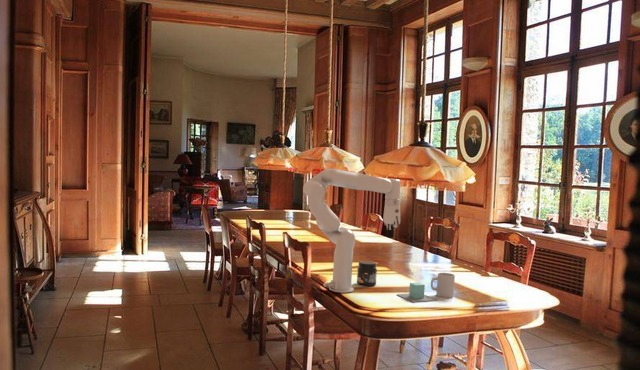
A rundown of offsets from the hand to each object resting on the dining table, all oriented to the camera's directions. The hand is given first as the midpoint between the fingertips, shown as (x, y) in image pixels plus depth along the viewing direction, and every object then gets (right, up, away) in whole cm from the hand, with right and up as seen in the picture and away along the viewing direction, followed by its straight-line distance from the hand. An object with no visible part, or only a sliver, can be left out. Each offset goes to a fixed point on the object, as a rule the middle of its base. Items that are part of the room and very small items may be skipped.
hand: (390, 237), depth 281 cm
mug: (+25, -29, -9) cm, 39 cm away
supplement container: (-12, -27, +7) cm, 30 cm away
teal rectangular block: (+11, -28, -16) cm, 34 cm away
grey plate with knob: (+11, -29, -16) cm, 35 cm away
